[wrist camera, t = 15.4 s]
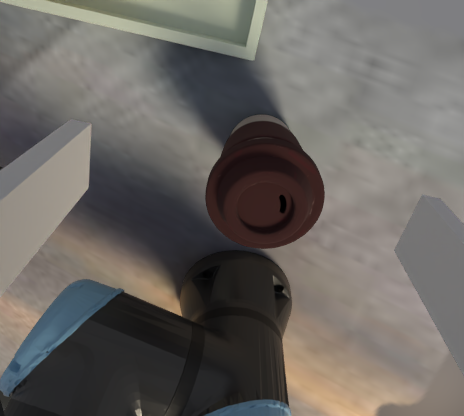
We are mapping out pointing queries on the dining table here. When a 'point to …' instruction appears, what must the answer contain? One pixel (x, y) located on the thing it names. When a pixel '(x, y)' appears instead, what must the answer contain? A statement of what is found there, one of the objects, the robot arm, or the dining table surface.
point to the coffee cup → (264, 186)
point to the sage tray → (171, 20)
